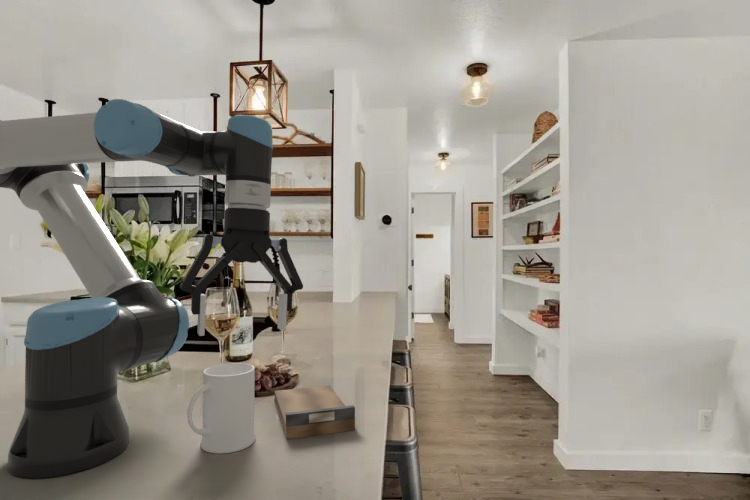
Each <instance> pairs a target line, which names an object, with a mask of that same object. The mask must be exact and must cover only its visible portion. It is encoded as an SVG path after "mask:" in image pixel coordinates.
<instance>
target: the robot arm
mask: <svg viewBox="0 0 750 500" xmlns="http://www.w3.org/2000/svg"><path fill="white" fill-rule="evenodd" d="M273 143H274V142H273V126H272V124H271V123H270V122H269V121H268V120H266V119H265V118H262V117H259V116H255V115H250V114H235V115H234V116H231V117H229V118H228V121H227V125H226V130H220V131H203V130H201V131H200V130H198V129H196V128H193V127H192V126H189V125H188V124H187V125H186V124H184V123H182V122H180V121H177V120H175V119H172V118H170V117H168V116H166V115H163V114H161V113H159V112H158V111H155V110H152V109H151V108H149V107H147V106H145V105H143V104H140V103H136V102H132V101H129V100H127V99H120V98H115V99H110V100H108V101H107V103H106V104H104V105H102V106H100V108H98V110H97V112H88V113H87V112H86V113H73V114H64V115H54V116H43V117H42V116H41V117H32V118H31V117H29V118H20V119H10V120H9V119H7V120H1V119H0V188H3V189H10V190H13V191H14V193H15V194H16V196H17V197H18V199H19V200H20V202H21V203H22V204H23V206H24V207H25V208H28V209H30V210H33V211H38V214H39V215H40V216H41V218H42V220H43V221H44V223H45V225H46V226H47V228H48V230H49V232H50V233H51V234H52V237H53V238H54V239H55V241H56V243H57V244H58V246H59V248H60V249H61V250H62V252H63V255H65V257H66V259H67V261H68V262H69V264H70V265H71V267H72V269H73V270H74V271H75V273H76V275H77V277H78V278H79V280H80V281H81V283H82V284H83V286H84V287H85V289H86V292H87V293H88V295H89V296H90V297H85V298H81V299H80V298H79V299H72V300H65V301H64V300H63V301H58V302H56V303H51V304H48V305H45V306H42V307H40V308H37V309H35V310H34V311H33V312H32V313H31V314H30V316H29V317H28V318H27V322H26V329H25V337H24V340H23V344H24V346H25V367H24V369H25V375H24V382H25V383H24V412H23V415H22V418H21V420H20V423H19V424H18V427H17V430H16V433H15V434H14V438H13V440H12V442H11V445H10V448H9V450H8V454H7V470H8V472H9V473H10V474H11V475H14V476H16V477H20V478H29V479H40V478H41V479H43V478H51V477H58V476H59V477H60V476H64V475H69V474H74V473H78V472H81V471H84V470H88V469H91V468H93V467H97V466H99V465H100V464H103V463H106V462H109V461H110V460H111V459H113V458H116V457H117V456H119V455H120V454H121V453H123V452H124V451H125V450H126V449H127V447H128V446H129V444H130V429H129V425H128V422H127V419H126V417H125V413H124V411H123V409H122V408H123V407H122V406H121V403H120V401H119V397H118V373H121V372H125V371H128V370H132V369H135V368H138V367H141V366H145V365H148V364H152V363H157V362H160V361H162V360H164V359H165V358H167V357H170V356H173V355H174V354H176V353H177V352H178V351H179V350H180V349H181V348H182V347H183V346H184V344H185V342H186V340H187V338H188V331H189V328H190V319H189V314H188V311H187V309H186V307H185V306H184V304H183V303H182V302H181V301H179V300H178V299H176V298H172V297H170V296H163V295H162V293H161V292H160V291H159V289H158V287H157V286H156V284H155V283H154V282H153V281H152V280H147V279H141V277H140V276H139V274H138V272H137V271H136V269H135V268H134V267H133V265H132V263H131V261H130V260H129V259H128V257H127V255H126V254H125V252H124V251H123V250H122V249H121V247H120V245H119V244H118V242H117V240H116V239H115V238H114V236H113V235H112V233H111V231H110V230H109V228H108V227H107V226H106V224H105V222H104V221H103V219H102V218H101V216H100V214H99V213H98V211H97V210H96V209H95V207H94V205H93V203H92V202H91V200H90V199H89V197H88V195H87V194H86V192H87V189H88V183H89V180H90V173H88V170H90V167H89V164H94V163H95V164H96V163H111V162H138V161H141V162H149V163H152V164H156V165H160V166H162V167H165V168H167V170H169V172H171V173H172V174H174V175H176V176H187V177H190V178H191V177H198V176H225V190H224V191H225V193H224V204H225V206H227V208H225V210H224V218H223V219H224V220H223V233H222V236H214V235H212V234H205V235H204V236H203V238H202V245H201V248H200V250H199V252H198V253H197V256H196V257H195V259H194V260H193V262H192V264H191V265H190V267H189V269H188V271H187V272H186V274H185V276H184V278H183V279H182V281H181V283H180V284H179V289H180V290H182V292H187V293H190V294H191V301H190V303H191V305H190V306H191V308H190V311H191V314H192V316H193V315H197V328H196V329H197V332H196V333H197V335H198V336H199V337H203V336H205V326H206V303H207V302H206V299H207V295H206V294H204V293H202V292H204V290H205V289H206V288H207V287H208V286H209V285H210V284H211V283H212V282H213V281H214V280H215V279H216V278H217V276H218V275H220V274H221V272H222V271H223V270H224V269H225V268H226V267H227V266H228V265H229V264H230V263H231V262H232V261H233V262H235V263H246V262H247V263H250V264H252V263H253V264H256V263H260V264H261V265H262V266H263V267H264V269H265V270H266V271H267V272H268V273H269V275H270V276H271V277H272V278H273V280H274V281H275V282H276V284H277V285H278V286H279V288H281V289H282V292H278V302H277V303H278V304H277V309H278V311H277V329H278V330H280V331H281V332H284V331H287V319H288V318H287V317H288V316H287V314H288V313H287V312H291V311H292V309H293V294H294V293H296V292H297V291H299V290H302V289H303V288H304V284H303V282H302V280H301V278H300V275H299V273H298V271H297V269H296V267H295V264H294V262H293V259H292V257H291V255H290V253H289V251H288V250H289V249H288V240H287V239H286V237H285V238H284V237H279V238H277V239H275V238H274V239H271V237H270V227H271V226H270V223H271V213H270V212H269V210H267V209H269V208H271V193H272V192H271V189H272V186H271V184H272V181H271V180H272V178H271V177H272V165H273V164H272V162H273V161H272V160H273V150H274V146H273V145H274V144H273ZM219 244H220V245H221V247H222V248H223V250H224V251H225V252H224V253H223V254H222V255H221V256H220V257H219V259H218V260H217V261H216V262H215V263H214V264H213V265H212V267H211V268H210V269H209V270H208V271H207V272H206V273H205V274H204V275H203V276H202V277H201V278H200V279H199V280H198V281H197V282H196V284H195V285H193V283H194V281H195V280H196V277H197V276H198V274H199V273H200V271H201V269H202V267H203V265H204V263H205V262H206V260H207V258H208V256H209V255H210V254H211V250H212V249H216V247H217V246H218V245H219ZM271 247H273V249H274V250H275V251H277V254H278V257H279V259H280V261H281V263H282V265H283V268H284V270H285V272H286V274H287V277H288V279H289V281H288V280H287V278H286V277H285V276H284V274H283V273H282V272H281V271H280V270H279V269H278V267H277V266H276V265H275V263H274V262H273V260H272V258H271V257H270V256H269V255H268V253H267V252H268V251H269V250H270V248H271ZM289 282H290V283H289Z"/></svg>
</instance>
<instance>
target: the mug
mask: <svg viewBox="0 0 750 500" xmlns="http://www.w3.org/2000/svg"><path fill="white" fill-rule="evenodd" d="M255 371H256V370H255V366H254V365H252V364H248V363H241V362H239V363H238V362H236V363H235V362H233V363H232V362H231V363H222V364H215V365H213V366H209V367H208V368H205V369H204V370H203V371H202V372H203V373H202V374H203V375H202V385H201V386H200V387H199V388H198V389H197V390H196V391H195V393H194V394H193V396H192V397H191V398H190V401H189V404H188V408H187V413H186V415H187V422H188V426H189V428H190V429H191V430H192V431H193V433H195V434H197V435H200V436H201V440H200V448H201V449H202V450H203V451H204V452H208V453H210V454H230V453H231V454H232V453H235V452H239V451H242V450H245V449H247V448H249V447H250V446H251V445H253V444H254V442H255V441H256V434H255V384H256V383H255V378H256V377H255V376H256V375H255V373H256V372H255ZM200 395H202V428H201V427H197V426H196V425H195V423H194V421H193V409H194V406H195V403H196V401H197V400H198V399H199V397H200Z"/></svg>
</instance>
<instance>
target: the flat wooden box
mask: <svg viewBox="0 0 750 500" xmlns="http://www.w3.org/2000/svg"><path fill="white" fill-rule="evenodd" d="M274 403H275V406H276V410H277V413H278V416H279V419H280V423H281V426H282V429H283V433H284V436H285V440H289V439H298V438H304V437H313V436H314V437H315V436H321V435H327V434H335V433H344V432H350V431H356V406H355V405H345V403H344V402H343V401H342V399H341V398H340V397H339V395H338V394H337V393H336V391H334V389H333V387H332V386H331V385H321V386H311V387H310V386H309V387H301V388H292V389H291V388H290V389H278V390H274Z"/></svg>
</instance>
